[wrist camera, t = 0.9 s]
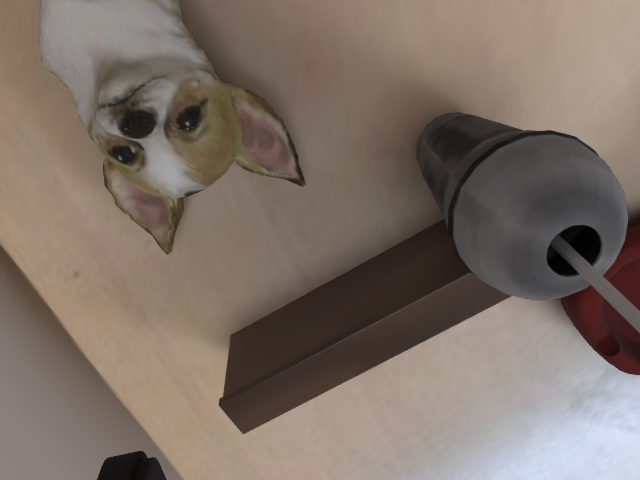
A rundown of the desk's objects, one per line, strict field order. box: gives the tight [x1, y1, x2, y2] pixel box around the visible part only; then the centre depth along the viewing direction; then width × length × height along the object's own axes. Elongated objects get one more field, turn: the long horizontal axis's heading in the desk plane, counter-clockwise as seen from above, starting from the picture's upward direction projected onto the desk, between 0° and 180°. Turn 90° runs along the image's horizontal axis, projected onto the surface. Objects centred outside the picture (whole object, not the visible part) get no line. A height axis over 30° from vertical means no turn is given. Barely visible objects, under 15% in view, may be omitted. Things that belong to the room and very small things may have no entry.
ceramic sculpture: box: [39, 0, 306, 255], centre depth 29 cm, size 11×9×15 cm
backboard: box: [219, 219, 511, 434], centre depth 34 cm, size 3×20×8 cm, turn 120°
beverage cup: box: [417, 113, 640, 333], centre depth 26 cm, size 7×7×20 cm
